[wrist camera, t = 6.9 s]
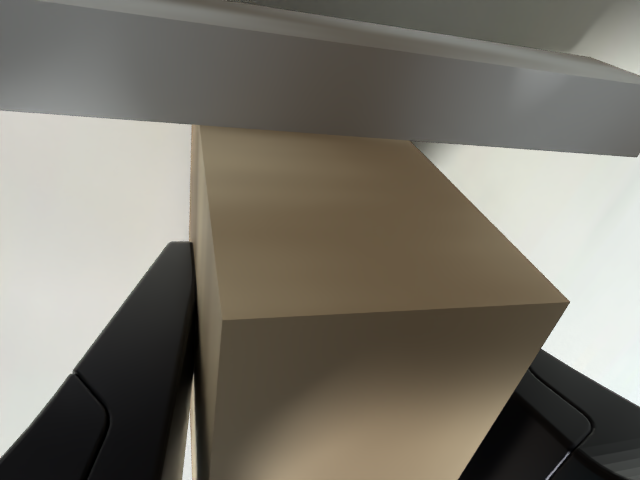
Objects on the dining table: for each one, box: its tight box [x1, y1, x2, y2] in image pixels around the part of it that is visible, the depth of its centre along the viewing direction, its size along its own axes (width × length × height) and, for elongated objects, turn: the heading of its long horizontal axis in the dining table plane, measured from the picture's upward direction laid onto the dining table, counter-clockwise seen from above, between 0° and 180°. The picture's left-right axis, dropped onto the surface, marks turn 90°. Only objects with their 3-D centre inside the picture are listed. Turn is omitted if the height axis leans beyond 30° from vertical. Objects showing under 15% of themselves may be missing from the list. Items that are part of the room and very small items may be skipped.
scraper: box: [0, 0, 640, 480], centre depth 7 cm, size 12×7×6 cm, turn 79°
